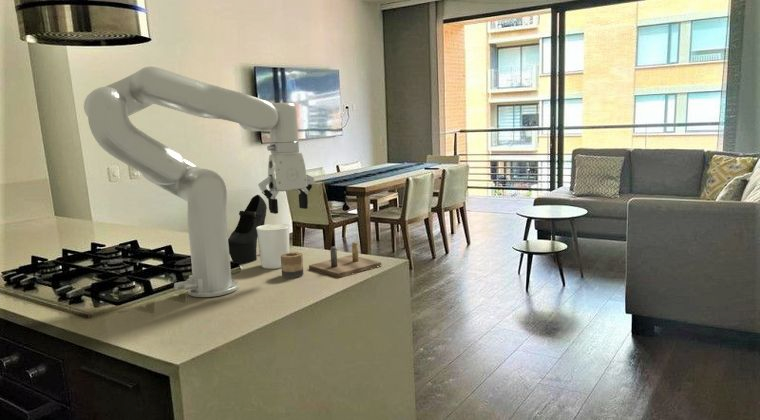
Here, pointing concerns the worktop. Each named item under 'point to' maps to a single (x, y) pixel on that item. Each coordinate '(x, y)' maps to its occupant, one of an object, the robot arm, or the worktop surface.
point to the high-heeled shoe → (247, 231)
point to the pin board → (344, 263)
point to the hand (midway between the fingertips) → (289, 210)
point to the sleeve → (292, 265)
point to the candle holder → (272, 244)
